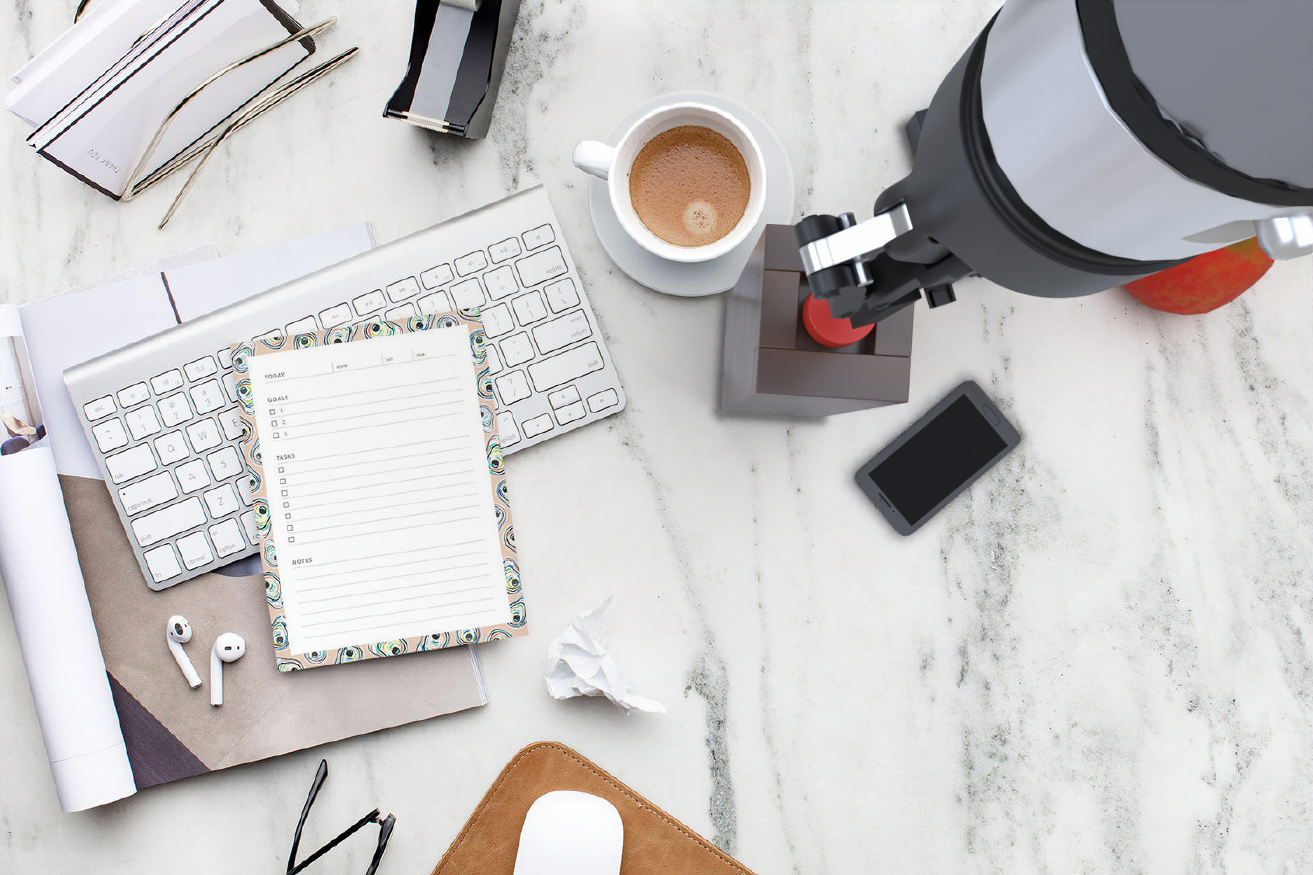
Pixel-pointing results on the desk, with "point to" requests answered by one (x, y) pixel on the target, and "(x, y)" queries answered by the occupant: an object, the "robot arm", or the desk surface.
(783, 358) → the block
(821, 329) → the button
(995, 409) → the cell phone
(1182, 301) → the apple
